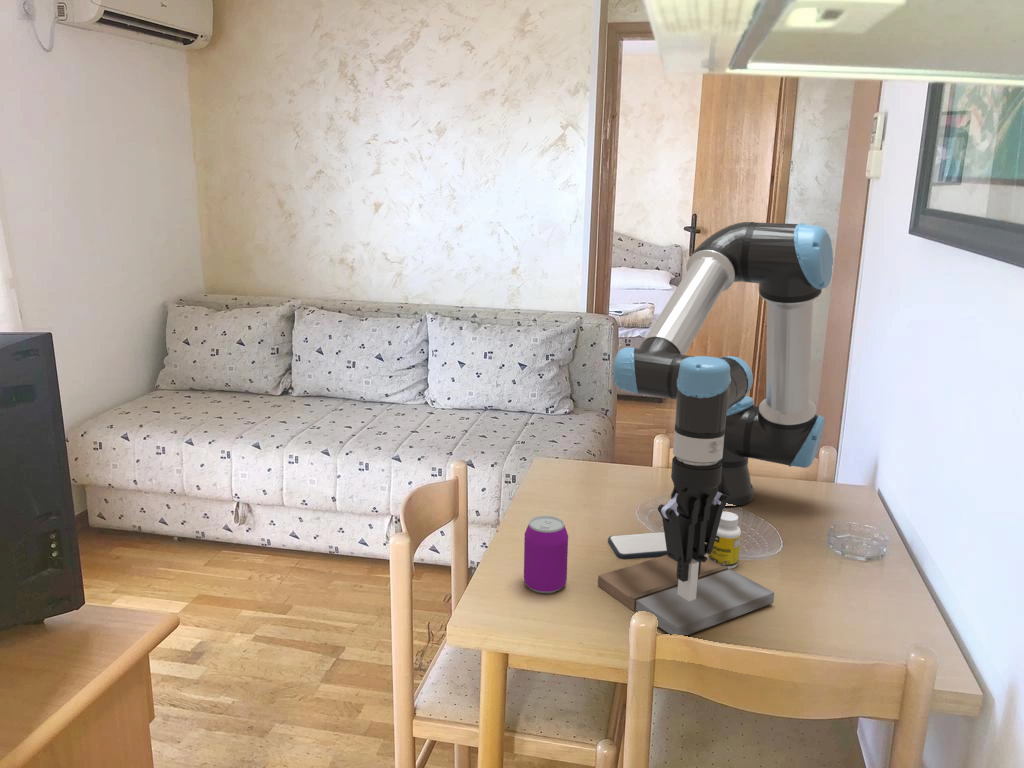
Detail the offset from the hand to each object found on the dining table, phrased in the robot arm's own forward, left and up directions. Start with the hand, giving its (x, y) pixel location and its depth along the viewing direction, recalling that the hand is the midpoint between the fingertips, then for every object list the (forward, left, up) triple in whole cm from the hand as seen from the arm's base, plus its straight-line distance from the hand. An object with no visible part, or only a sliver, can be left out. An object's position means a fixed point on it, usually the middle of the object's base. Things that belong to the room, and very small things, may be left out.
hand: (686, 596), depth 129 cm
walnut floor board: (-7, -13, -6) cm, 16 cm away
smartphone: (-15, -25, -6) cm, 30 cm away
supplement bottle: (-22, -13, -6) cm, 26 cm away
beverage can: (+12, -23, -6) cm, 27 cm away
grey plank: (-7, -3, -5) cm, 9 cm away
